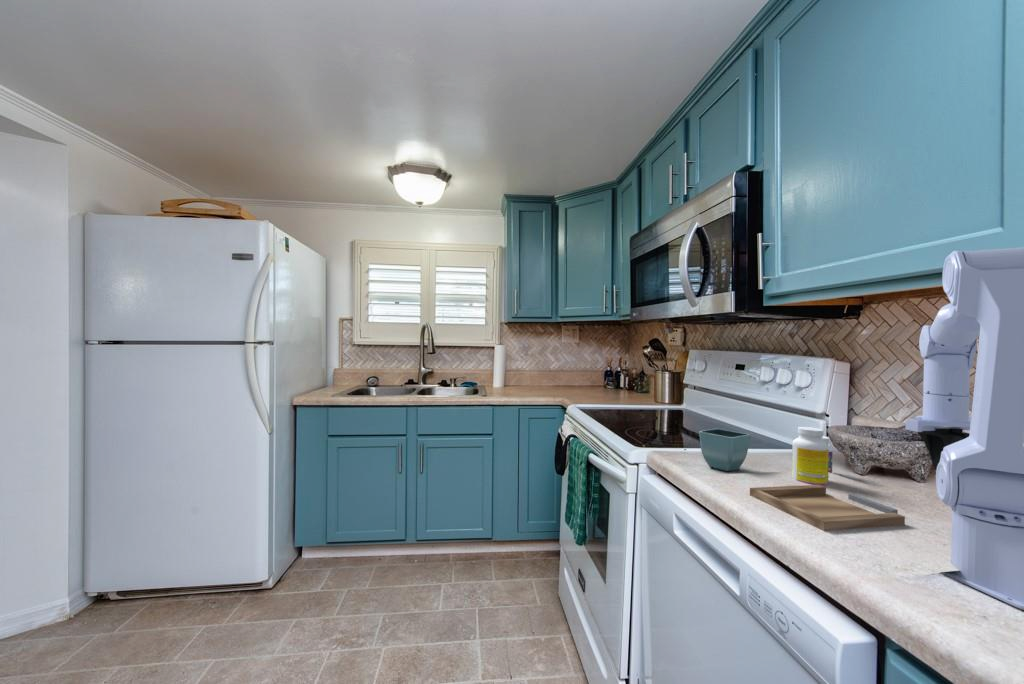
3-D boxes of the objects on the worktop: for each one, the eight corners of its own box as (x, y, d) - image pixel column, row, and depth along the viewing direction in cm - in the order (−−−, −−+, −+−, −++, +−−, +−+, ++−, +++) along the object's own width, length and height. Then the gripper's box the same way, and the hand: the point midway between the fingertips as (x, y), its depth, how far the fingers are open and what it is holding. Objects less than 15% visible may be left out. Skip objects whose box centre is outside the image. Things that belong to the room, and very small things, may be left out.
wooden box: (904, 534, 71) (904, 516, 71) (823, 540, 68) (823, 521, 68) (818, 499, 87) (818, 484, 87) (749, 502, 84) (749, 487, 84)
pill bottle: (836, 476, 103) (837, 439, 103) (812, 474, 104) (813, 438, 104) (825, 470, 108) (826, 435, 108) (802, 468, 109) (802, 433, 109)
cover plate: (949, 528, 75) (950, 511, 75) (894, 532, 73) (895, 515, 73) (879, 503, 87) (879, 488, 87) (829, 506, 85) (830, 491, 85)
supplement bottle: (834, 493, 91) (836, 432, 91) (800, 490, 92) (802, 430, 92) (817, 482, 97) (818, 426, 97) (785, 480, 98) (787, 425, 99)
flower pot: (716, 461, 114) (717, 427, 114) (750, 470, 106) (751, 434, 106) (697, 466, 109) (698, 430, 109) (731, 475, 101) (732, 437, 101)
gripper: (950, 391, 81) (949, 464, 80) (888, 391, 78) (886, 466, 78) (999, 396, 74) (998, 475, 74) (932, 396, 71) (931, 478, 71)
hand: (943, 471), depth 75 cm, fingers closed
